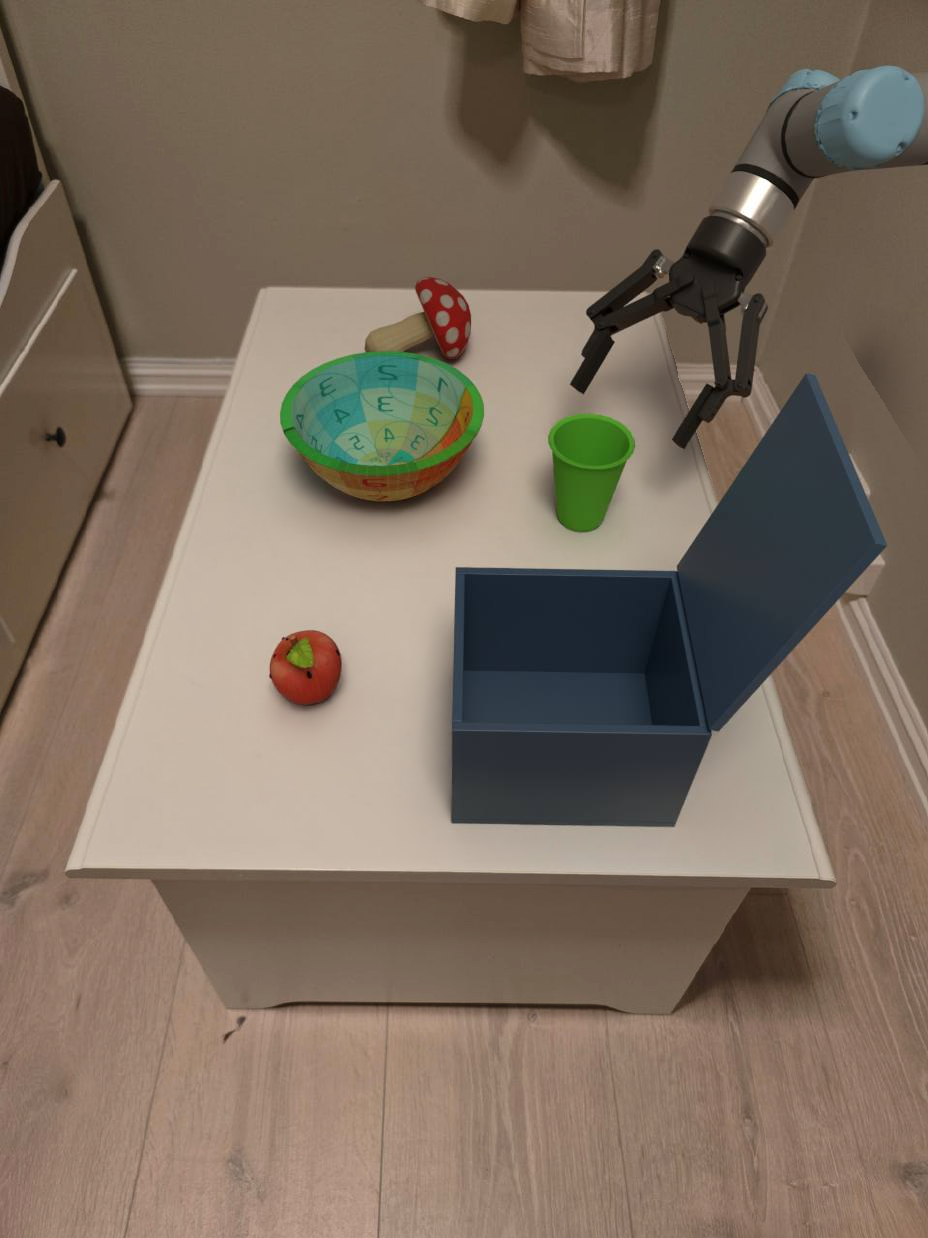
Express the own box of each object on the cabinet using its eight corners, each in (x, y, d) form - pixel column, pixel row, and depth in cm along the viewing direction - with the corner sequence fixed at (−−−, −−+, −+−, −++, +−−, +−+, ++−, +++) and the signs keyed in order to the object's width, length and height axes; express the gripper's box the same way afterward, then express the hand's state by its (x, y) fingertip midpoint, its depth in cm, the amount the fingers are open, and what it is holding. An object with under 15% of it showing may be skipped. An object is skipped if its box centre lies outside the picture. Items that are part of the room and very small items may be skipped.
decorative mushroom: (343, 311, 113) (451, 259, 111) (351, 313, 123) (450, 266, 122) (381, 394, 116) (487, 345, 114) (386, 389, 126) (483, 344, 125)
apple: (260, 689, 85) (241, 620, 77) (318, 652, 88) (306, 583, 80) (306, 740, 81) (292, 674, 74) (366, 700, 84) (358, 632, 77)
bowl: (456, 408, 114) (457, 338, 106) (503, 525, 100) (508, 455, 92) (281, 432, 110) (269, 362, 103) (304, 558, 96) (292, 487, 89)
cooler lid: (876, 542, 50) (888, 545, 50) (805, 372, 61) (816, 375, 61) (708, 730, 65) (718, 732, 65) (676, 566, 76) (684, 567, 76)
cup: (528, 499, 103) (535, 421, 95) (601, 484, 105) (614, 406, 97) (557, 552, 97) (567, 474, 89) (633, 535, 99) (650, 457, 91)
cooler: (451, 823, 76) (451, 730, 65) (454, 668, 87) (455, 566, 76) (674, 827, 76) (712, 734, 65) (650, 672, 87) (679, 570, 76)
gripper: (851, 292, 89) (732, 477, 93) (649, 209, 100) (551, 378, 105) (843, 260, 83) (715, 460, 87) (628, 175, 94) (524, 357, 98)
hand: (625, 416), depth 96 cm, fingers open, 13 cm apart
